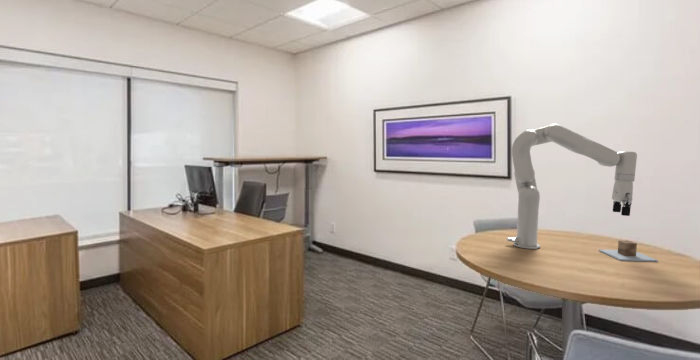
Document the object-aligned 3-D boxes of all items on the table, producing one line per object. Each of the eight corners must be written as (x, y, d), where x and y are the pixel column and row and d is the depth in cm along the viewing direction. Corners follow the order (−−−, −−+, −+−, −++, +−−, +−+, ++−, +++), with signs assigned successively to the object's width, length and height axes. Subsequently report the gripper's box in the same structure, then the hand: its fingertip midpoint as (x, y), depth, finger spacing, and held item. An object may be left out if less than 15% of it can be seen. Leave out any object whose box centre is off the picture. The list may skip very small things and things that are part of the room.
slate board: (620, 260, 166) (620, 259, 166) (598, 251, 182) (598, 249, 182) (657, 261, 165) (657, 260, 165) (632, 251, 181) (633, 250, 181)
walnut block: (624, 255, 171) (625, 243, 170) (617, 252, 176) (618, 240, 175) (635, 256, 171) (636, 243, 170) (628, 253, 176) (629, 240, 175)
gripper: (608, 176, 182) (604, 210, 183) (623, 178, 165) (619, 216, 167) (625, 176, 180) (622, 211, 181) (642, 179, 163) (638, 217, 165)
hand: (620, 213), depth 174 cm, fingers open, 9 cm apart
